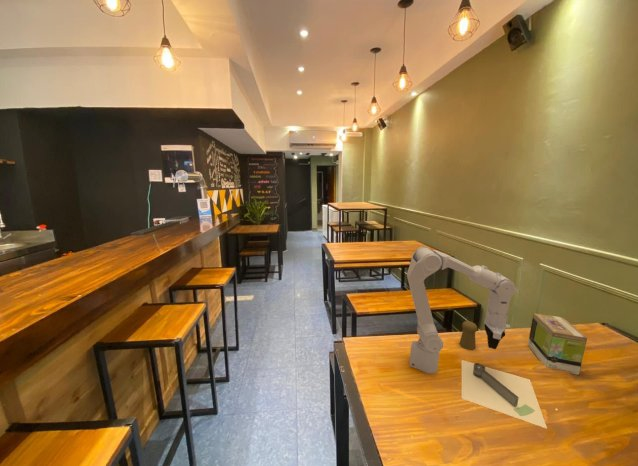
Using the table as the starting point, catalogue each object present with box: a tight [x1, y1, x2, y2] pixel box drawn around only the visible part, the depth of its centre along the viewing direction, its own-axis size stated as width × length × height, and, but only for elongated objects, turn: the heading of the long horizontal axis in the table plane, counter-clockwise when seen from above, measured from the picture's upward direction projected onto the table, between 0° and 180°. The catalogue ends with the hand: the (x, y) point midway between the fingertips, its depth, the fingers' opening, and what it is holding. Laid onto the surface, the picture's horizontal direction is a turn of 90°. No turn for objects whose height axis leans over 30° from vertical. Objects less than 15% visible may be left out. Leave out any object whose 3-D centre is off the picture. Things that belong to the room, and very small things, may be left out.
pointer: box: [473, 362, 519, 406], centre depth 81 cm, size 15×3×3 cm, turn 14°
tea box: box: [527, 312, 588, 376], centre depth 95 cm, size 15×10×15 cm, turn 161°
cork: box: [459, 320, 478, 351], centre depth 102 cm, size 6×6×11 cm
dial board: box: [461, 359, 548, 430], centre depth 81 cm, size 20×20×1 cm
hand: (491, 347), depth 87 cm, fingers closed
